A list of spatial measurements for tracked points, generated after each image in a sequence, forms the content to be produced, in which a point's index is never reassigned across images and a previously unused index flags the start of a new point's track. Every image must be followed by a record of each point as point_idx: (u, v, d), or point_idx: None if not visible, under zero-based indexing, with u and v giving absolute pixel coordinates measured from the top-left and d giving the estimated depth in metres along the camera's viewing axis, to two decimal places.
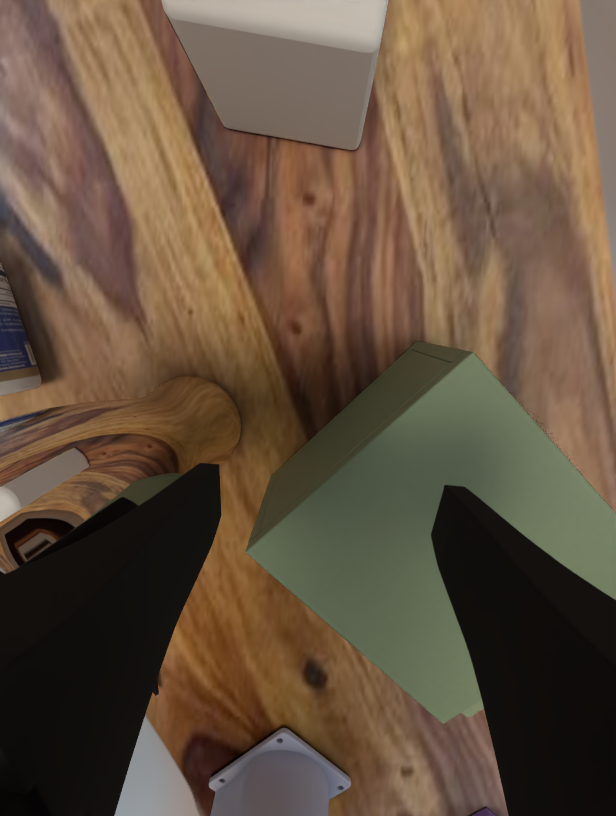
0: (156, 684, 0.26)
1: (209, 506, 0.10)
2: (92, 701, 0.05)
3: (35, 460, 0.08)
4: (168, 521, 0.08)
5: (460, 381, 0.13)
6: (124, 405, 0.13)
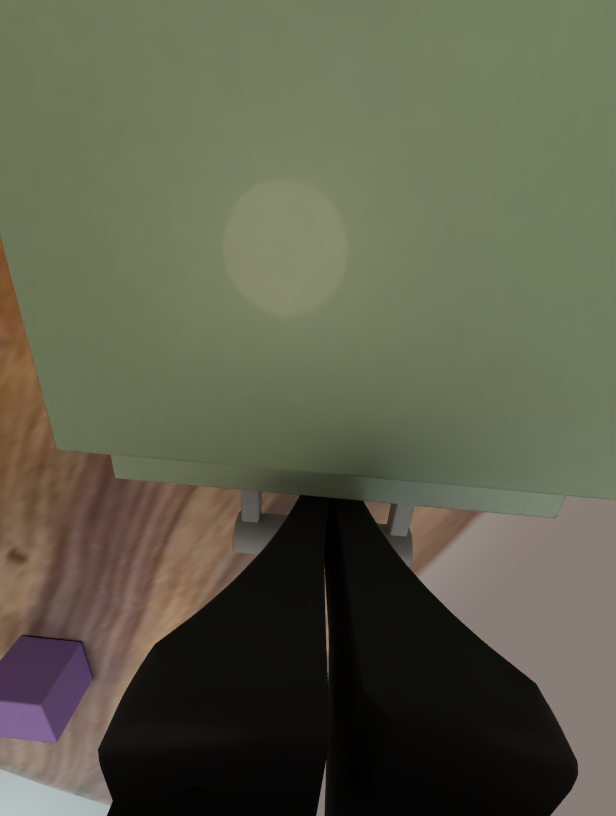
0: None
1: (327, 517, 0.10)
2: None
3: None
4: (324, 535, 0.07)
5: None
6: None
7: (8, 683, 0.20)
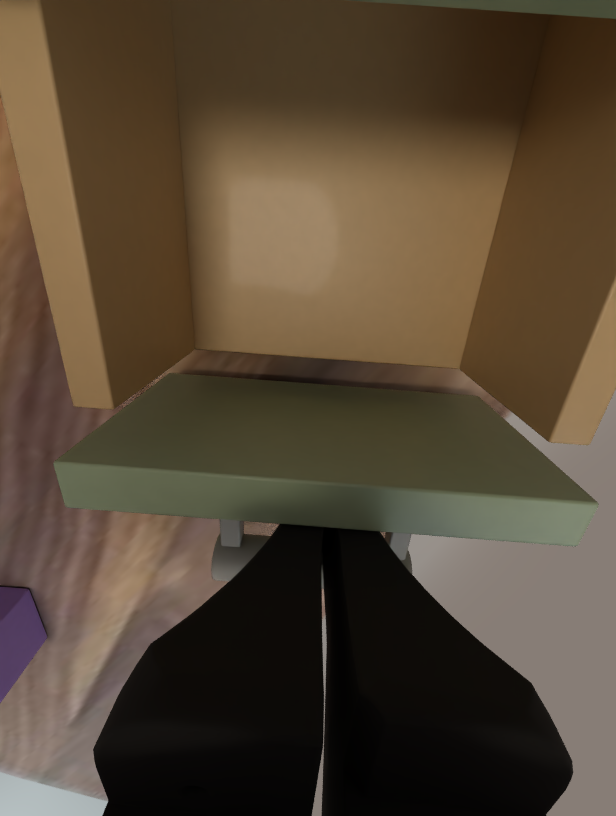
0: None
1: None
2: None
3: None
4: (322, 535, 0.07)
5: None
6: None
7: None
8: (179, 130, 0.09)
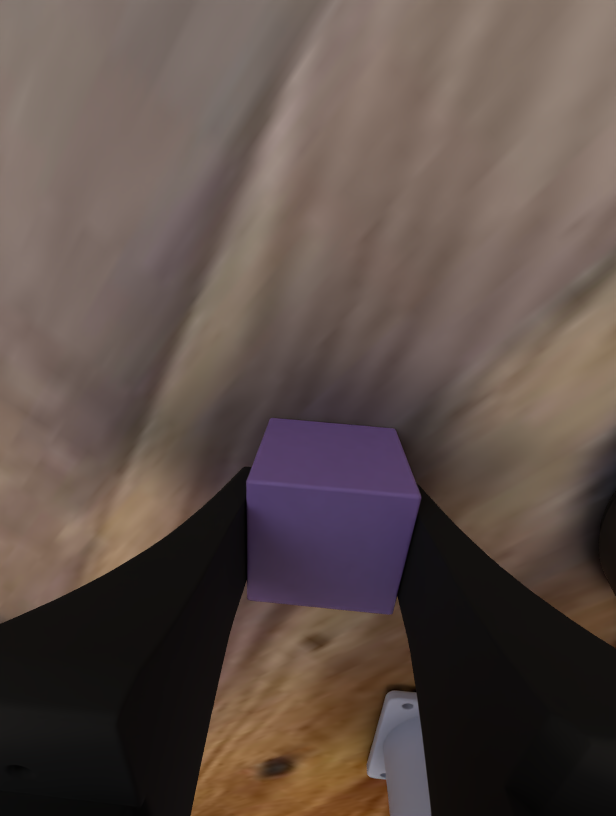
0: None
1: None
2: (180, 711, 0.05)
3: None
4: (230, 526, 0.08)
5: None
6: None
7: None
8: None
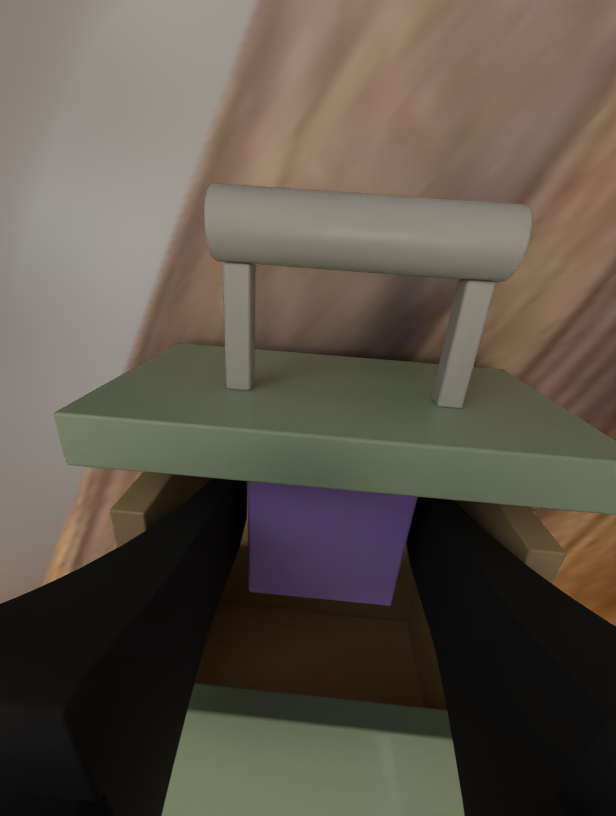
0: None
1: (238, 509, 0.10)
2: (146, 707, 0.05)
3: None
4: (206, 524, 0.08)
5: None
6: None
7: None
8: None
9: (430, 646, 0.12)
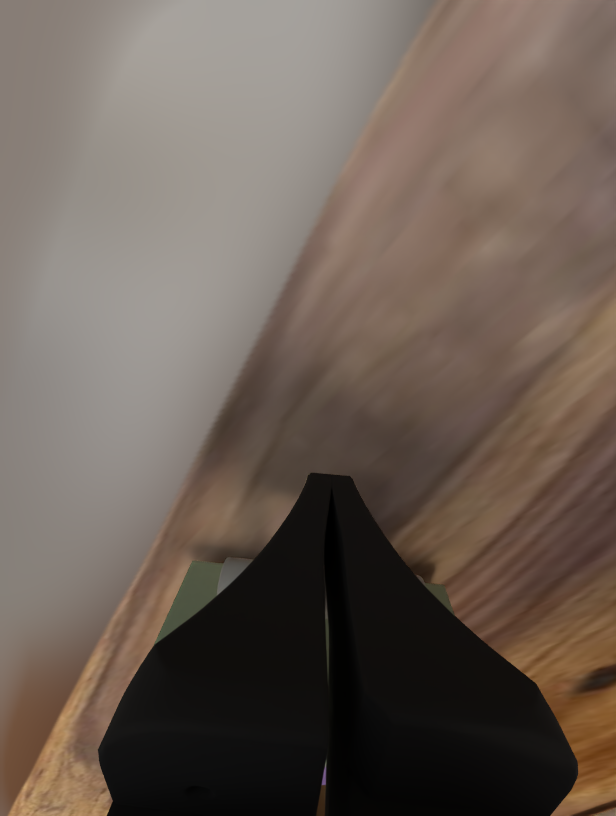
0: None
1: (327, 517, 0.10)
2: None
3: None
4: (324, 535, 0.07)
5: None
6: None
7: None
8: None
9: None
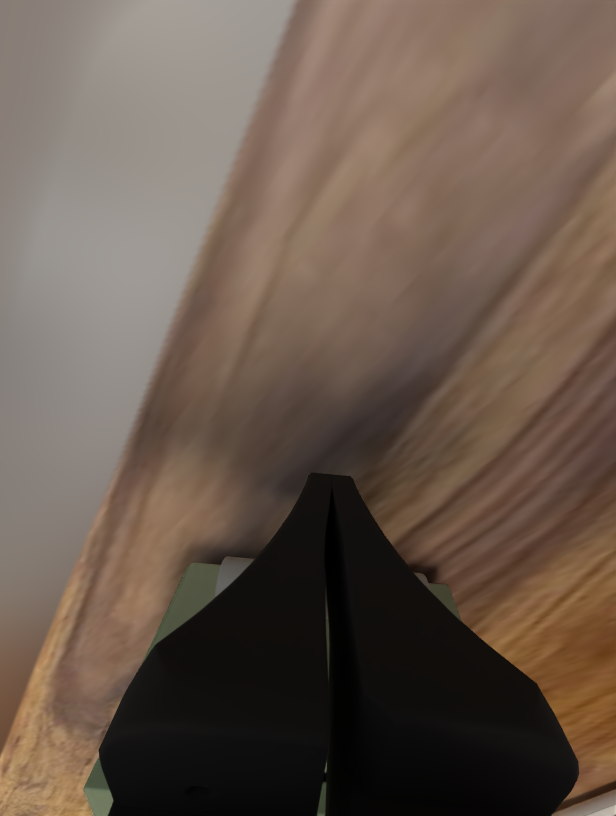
0: None
1: (328, 517, 0.10)
2: None
3: None
4: (324, 536, 0.07)
5: None
6: None
7: None
8: None
9: None
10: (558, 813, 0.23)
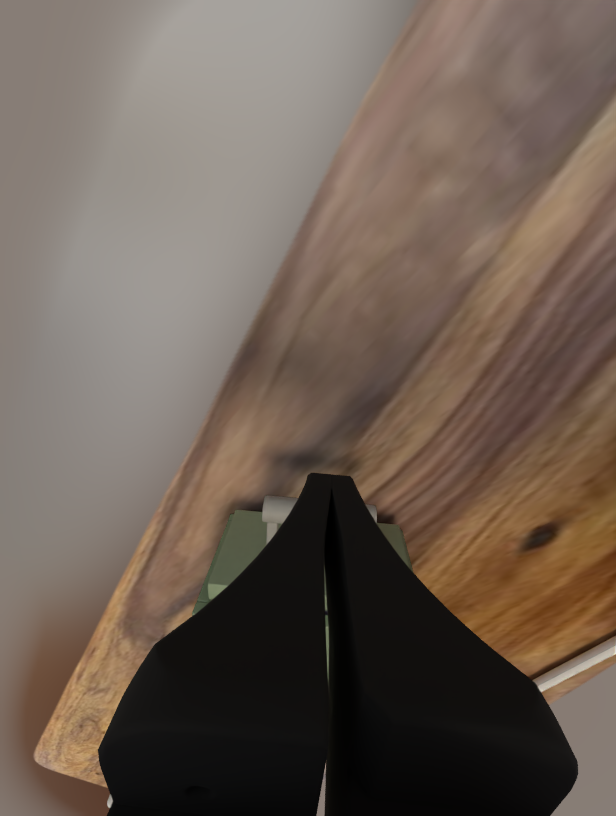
0: None
1: (327, 517, 0.10)
2: None
3: None
4: (324, 536, 0.07)
5: None
6: None
7: None
8: None
9: None
10: None
